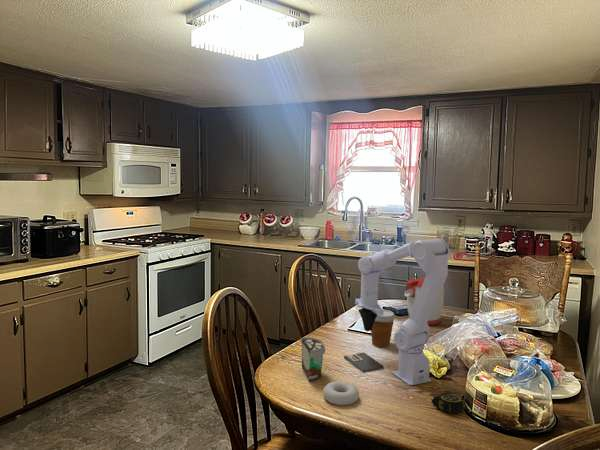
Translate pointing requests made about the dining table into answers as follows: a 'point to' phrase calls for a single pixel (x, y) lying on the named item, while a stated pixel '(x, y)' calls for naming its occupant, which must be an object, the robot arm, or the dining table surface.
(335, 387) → the donut
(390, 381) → the dining table surface
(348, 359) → the label panel
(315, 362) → the food container
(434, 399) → the tape measure
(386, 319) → the disposable coffee cup
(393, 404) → the dining table surface
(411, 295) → the citrus juicer
